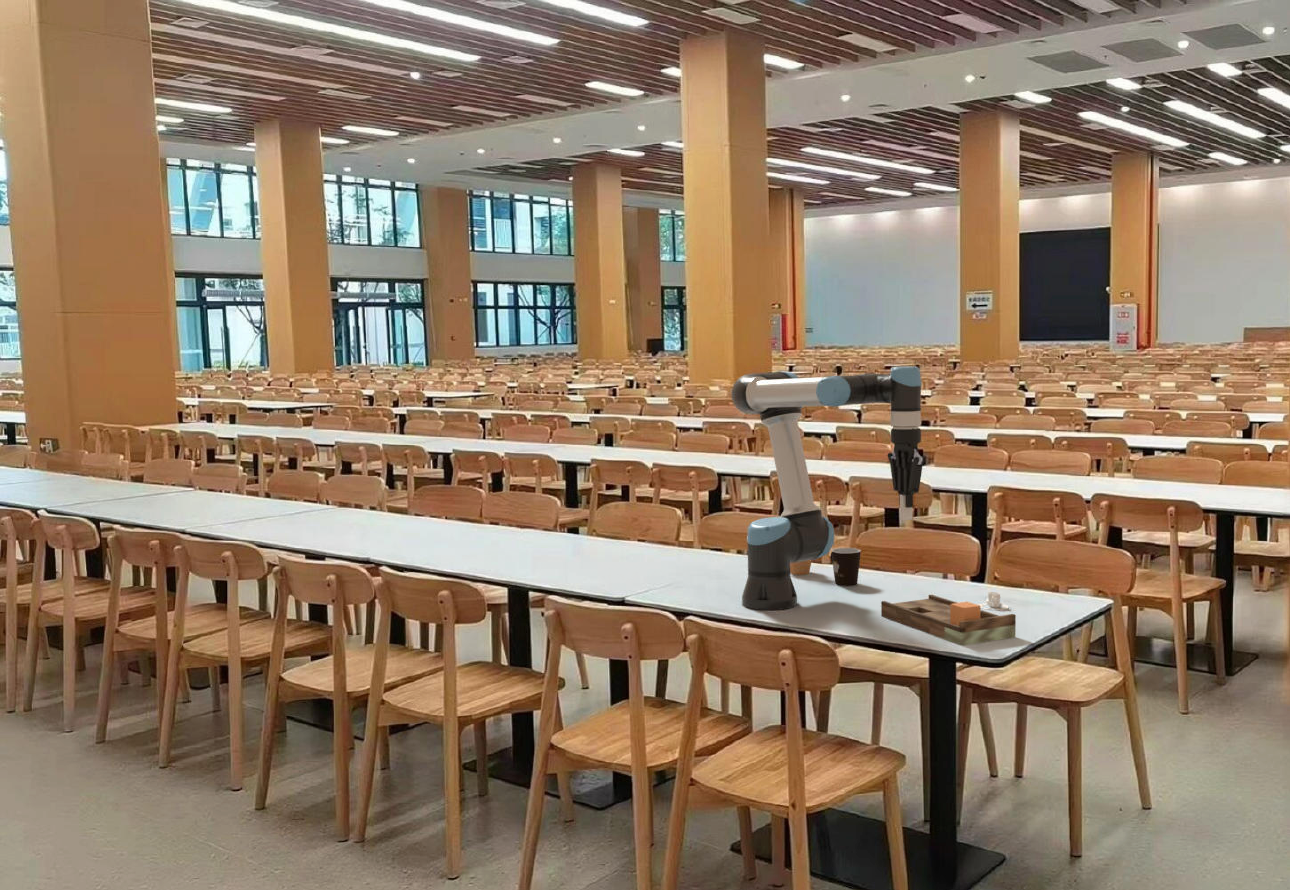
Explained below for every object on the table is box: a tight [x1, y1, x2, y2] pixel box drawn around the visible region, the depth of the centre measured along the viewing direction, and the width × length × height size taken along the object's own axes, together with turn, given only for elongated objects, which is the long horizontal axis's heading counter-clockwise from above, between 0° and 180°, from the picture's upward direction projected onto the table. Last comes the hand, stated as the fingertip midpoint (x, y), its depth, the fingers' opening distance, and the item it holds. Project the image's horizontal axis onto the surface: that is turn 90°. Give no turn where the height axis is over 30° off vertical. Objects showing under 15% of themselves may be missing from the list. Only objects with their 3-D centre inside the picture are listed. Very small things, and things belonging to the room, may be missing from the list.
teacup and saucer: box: [979, 591, 1010, 611], centre depth 326 cm, size 9×8×4 cm
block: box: [950, 601, 981, 626], centre depth 295 cm, size 5×5×5 cm
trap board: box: [880, 594, 1017, 646], centre depth 306 cm, size 16×33×6 cm, turn 24°
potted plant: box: [790, 560, 813, 576], centre depth 375 cm, size 10×10×25 cm
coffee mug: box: [829, 547, 862, 587], centre depth 360 cm, size 12×9×10 cm
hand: (906, 519), depth 310 cm, fingers closed
